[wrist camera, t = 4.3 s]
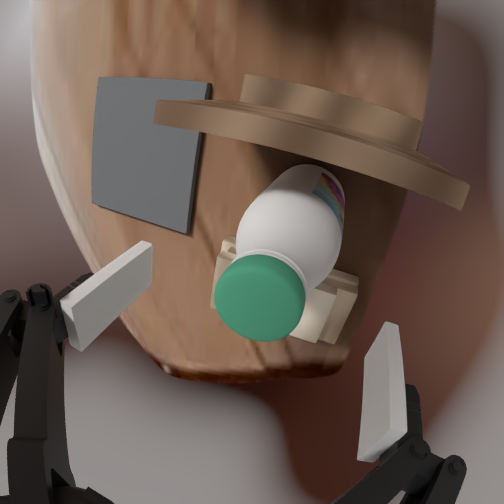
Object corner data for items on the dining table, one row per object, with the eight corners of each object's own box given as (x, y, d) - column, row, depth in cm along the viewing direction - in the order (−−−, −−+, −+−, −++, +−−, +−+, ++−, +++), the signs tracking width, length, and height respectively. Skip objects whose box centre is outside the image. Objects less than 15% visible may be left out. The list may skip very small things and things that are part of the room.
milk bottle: (269, 225, 35) (187, 343, 18) (276, 157, 31) (181, 222, 14) (338, 239, 33) (315, 378, 16) (350, 170, 30) (351, 255, 12)
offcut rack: (212, 286, 41) (148, 369, 27) (248, 75, 28) (164, 52, 14) (342, 330, 38) (328, 435, 24) (421, 122, 25) (486, 133, 11)
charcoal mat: (96, 201, 41) (91, 203, 40) (103, 77, 32) (98, 77, 32) (189, 230, 38) (185, 233, 37) (211, 83, 30) (207, 82, 29)
